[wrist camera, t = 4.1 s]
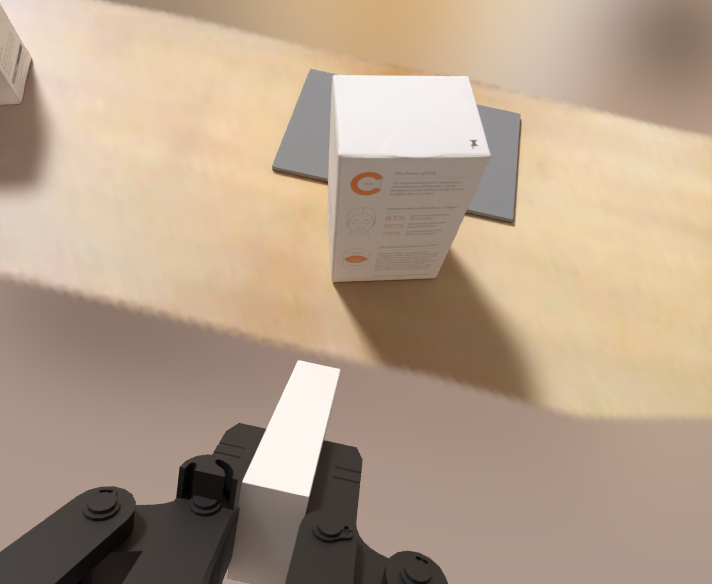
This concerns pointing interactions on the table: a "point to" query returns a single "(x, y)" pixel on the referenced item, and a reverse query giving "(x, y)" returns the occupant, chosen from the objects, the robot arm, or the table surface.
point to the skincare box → (12, 63)
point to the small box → (400, 173)
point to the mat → (312, 139)
